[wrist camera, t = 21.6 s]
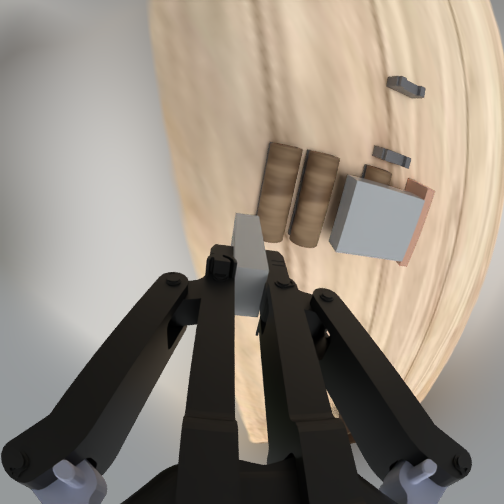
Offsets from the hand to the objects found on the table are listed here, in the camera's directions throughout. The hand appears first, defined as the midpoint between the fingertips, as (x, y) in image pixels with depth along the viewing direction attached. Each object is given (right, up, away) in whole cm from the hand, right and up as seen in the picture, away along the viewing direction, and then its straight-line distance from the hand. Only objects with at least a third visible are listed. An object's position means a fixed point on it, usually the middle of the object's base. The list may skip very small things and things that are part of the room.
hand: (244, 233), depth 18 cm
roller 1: (+4, +10, +29) cm, 31 cm away
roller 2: (+11, +9, +29) cm, 33 cm away
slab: (+22, +5, +26) cm, 34 cm away
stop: (+31, +6, +32) cm, 45 cm away
